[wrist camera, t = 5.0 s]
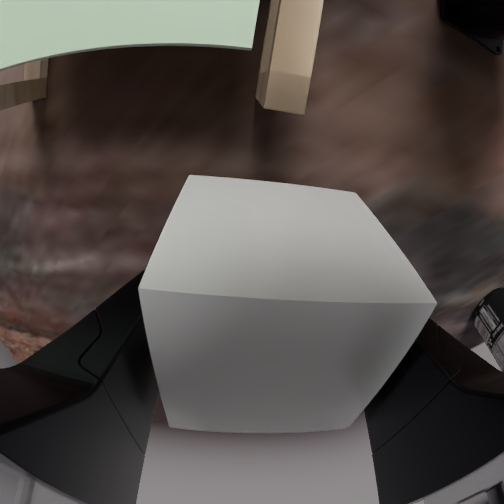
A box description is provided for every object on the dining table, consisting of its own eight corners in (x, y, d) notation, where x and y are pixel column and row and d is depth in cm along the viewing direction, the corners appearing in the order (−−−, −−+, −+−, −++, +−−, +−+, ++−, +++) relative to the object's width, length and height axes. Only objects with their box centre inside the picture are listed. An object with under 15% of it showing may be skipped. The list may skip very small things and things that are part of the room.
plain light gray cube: (355, 192, 9) (437, 303, 5) (318, 312, 11) (347, 428, 7) (189, 175, 8) (138, 288, 4) (189, 304, 11) (169, 427, 7)
